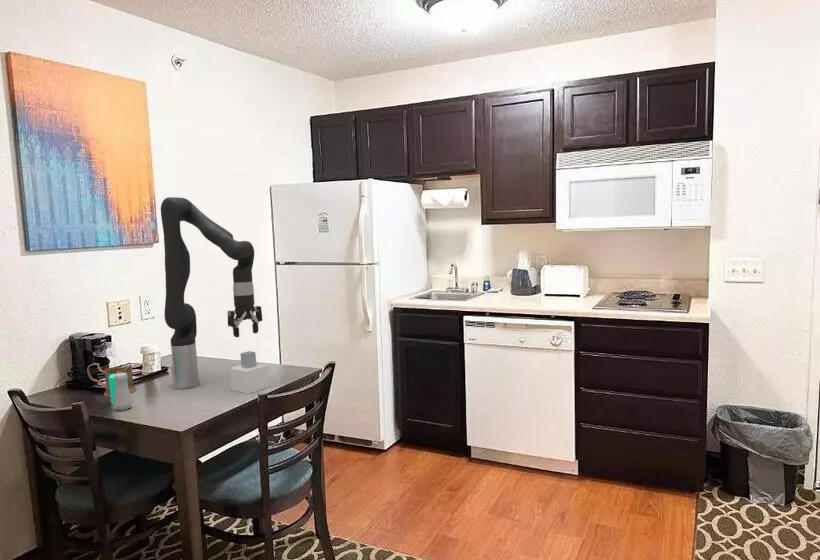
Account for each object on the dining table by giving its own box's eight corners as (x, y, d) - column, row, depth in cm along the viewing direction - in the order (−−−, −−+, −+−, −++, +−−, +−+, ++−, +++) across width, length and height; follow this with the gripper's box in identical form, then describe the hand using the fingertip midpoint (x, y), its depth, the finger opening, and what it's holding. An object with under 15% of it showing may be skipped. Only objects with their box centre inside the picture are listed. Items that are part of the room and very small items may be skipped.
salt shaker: (131, 410, 201) (127, 374, 200) (113, 412, 200) (109, 376, 198) (134, 405, 207) (130, 370, 206) (116, 407, 205) (113, 372, 204)
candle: (107, 404, 209) (104, 373, 208) (121, 399, 215) (117, 368, 213) (119, 406, 207) (116, 374, 206) (133, 400, 212) (129, 369, 211)
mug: (98, 389, 230) (95, 360, 229) (141, 387, 230) (138, 358, 229) (82, 398, 219) (78, 367, 217) (128, 396, 219) (124, 365, 217)
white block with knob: (248, 394, 214) (245, 357, 212) (231, 390, 220) (228, 354, 219) (269, 387, 222) (267, 351, 221) (253, 383, 228) (250, 348, 227)
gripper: (233, 296, 209) (236, 339, 211) (265, 291, 220) (267, 332, 222) (221, 295, 214) (224, 337, 216) (252, 290, 225) (255, 330, 227)
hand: (246, 335), depth 219 cm, fingers open, 8 cm apart
